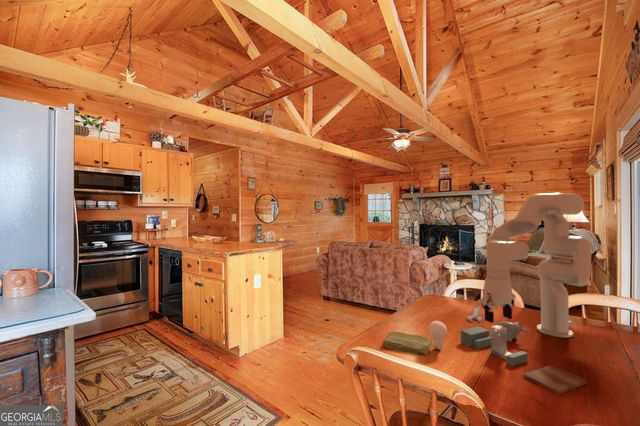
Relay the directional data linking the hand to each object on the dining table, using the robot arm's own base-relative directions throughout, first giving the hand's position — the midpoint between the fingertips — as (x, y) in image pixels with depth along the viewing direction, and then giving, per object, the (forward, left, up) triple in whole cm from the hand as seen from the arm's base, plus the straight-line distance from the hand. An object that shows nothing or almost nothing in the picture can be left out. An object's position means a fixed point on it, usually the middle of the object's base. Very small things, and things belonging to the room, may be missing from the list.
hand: (498, 319), depth 113 cm
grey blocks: (0, -3, -13) cm, 13 cm away
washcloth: (+26, -20, -14) cm, 36 cm away
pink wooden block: (0, +1, -13) cm, 13 cm away
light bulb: (+18, -12, -13) cm, 25 cm away
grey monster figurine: (-16, -6, -13) cm, 22 cm away
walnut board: (0, +19, -13) cm, 23 cm away
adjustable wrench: (-28, -33, -14) cm, 46 cm away
